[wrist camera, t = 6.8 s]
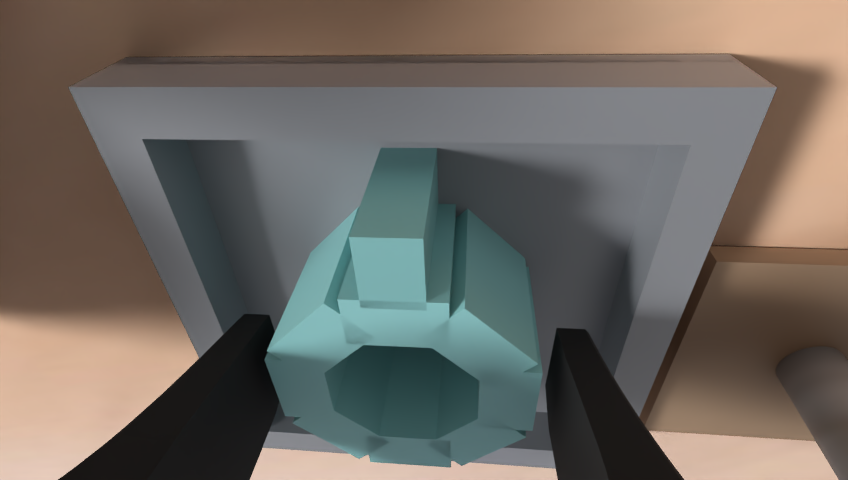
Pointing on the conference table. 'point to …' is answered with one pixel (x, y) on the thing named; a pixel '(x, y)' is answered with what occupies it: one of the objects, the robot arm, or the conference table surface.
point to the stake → (761, 351)
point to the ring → (410, 328)
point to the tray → (457, 181)
